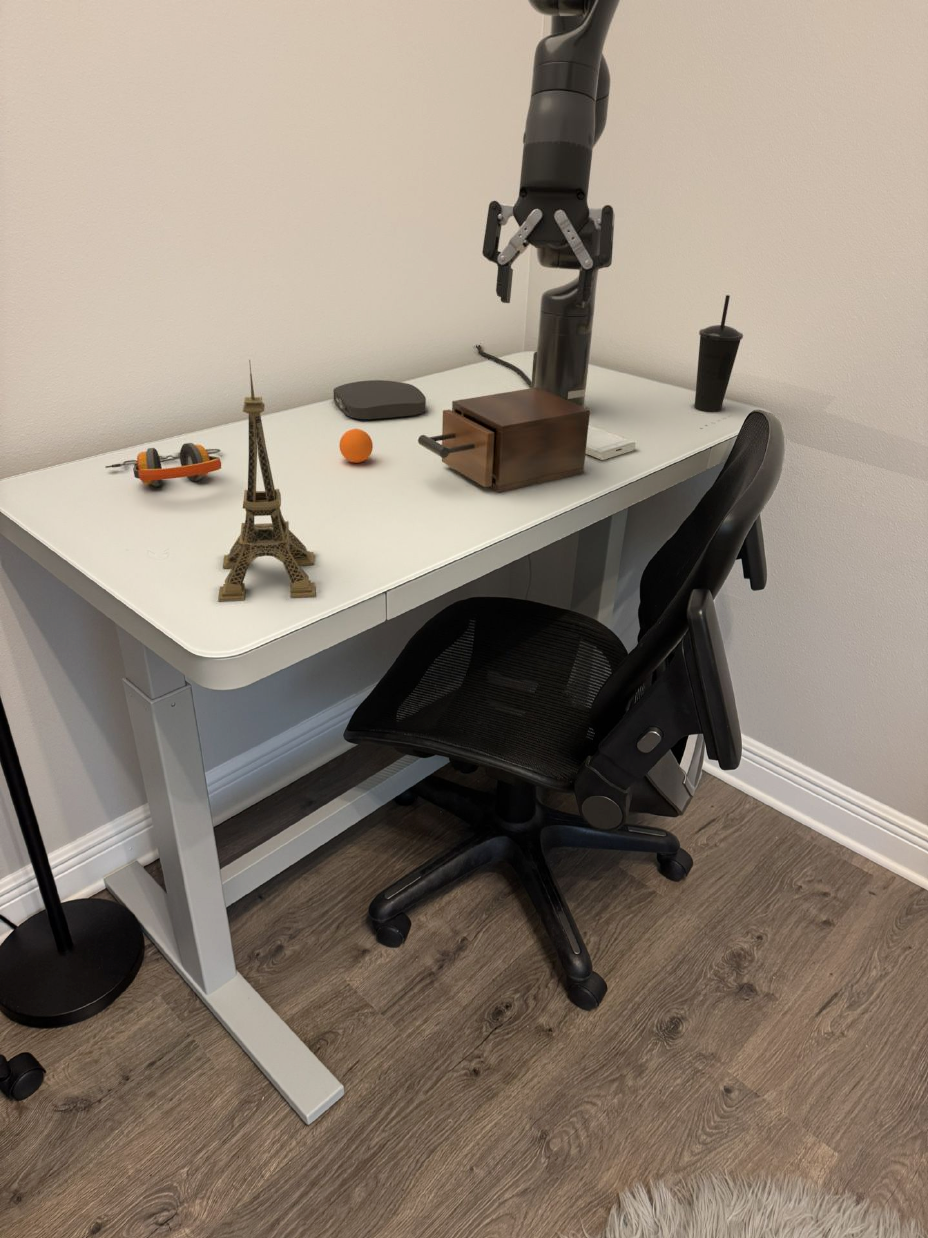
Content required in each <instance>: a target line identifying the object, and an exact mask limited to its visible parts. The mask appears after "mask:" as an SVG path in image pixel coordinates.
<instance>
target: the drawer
mask: <svg viewBox="0 0 928 1238" xmlns="http://www.w3.org/2000/svg"><path fill="white" fill-rule="evenodd" d="M441 427H442V429H441V434H440V435H439V434H438V435H434V436H427V435H425V434H421V435H420V436H418V439H417V443H418V444H419V445H420V446H422V447H423V448H424V449H427V450H428V451H429V452H431V453H434V454H435V455H436V456H438V457H440V458H441V462H442V463H444V464H445V465H446V466H448V467H450V468H452V469H453V470H455V471H457V472H458V473H460V474H462V475H464V476H465V477H467V478H468V479H470V480H472V481H473V482H476V484H478V485H479V486H482V487H483V488H490V487H489V486H492V477H493V478H494V479H496V466H497V449H498V430H496V429H494V428H493V427H491V426H489V425H487V424H485V423H483V422H481V421H479V420H477V419H475V418H473V417H471V416H469V415H467V414H465V413H463V412H461V415H459V414H457V413H455V412H453V411H452V409H444V410H442V426H441ZM440 441H441V443H439V442H440Z"/></svg>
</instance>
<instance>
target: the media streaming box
mask: <svg viewBox="0 0 928 1238" xmlns="http://www.w3.org/2000/svg"><path fill="white" fill-rule="evenodd" d="M426 401H427V398H426V396H425V394H424V393H423V392H422V391H421V389H419V388H418V387H417V386H415V385H413V384H410V383H407V382H400V381H394V380H384V379H383V380H381V379H375V380H374V379H373V380H372V379H371V380H370V379H369V380H361V381H360V380H359V381H353V382H348V383H344V384H341V385H338V386H336V387H333V403H335V405H336V406H337V407H338V408H339V409H340V410H341V412H343V413H344V414H345V415H346V416H347V417H350V418H353V419H357V420H375V419H376V420H377V419H388V418H399V417H407V416H416V415H420V414H423V413H425V411H426V410H427V408H426V407H427V405H426V404H427V403H426Z"/></svg>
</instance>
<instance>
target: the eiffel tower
mask: <svg viewBox="0 0 928 1238" xmlns="http://www.w3.org/2000/svg"><path fill="white" fill-rule="evenodd" d="M248 361H249V362H248V363H249V372H250V373H249V377H250V379H249V381H250V396H245V397H244V399H243V400H244V401H243V407H242V412H243V413H246V414H248V463H247V465H248V466H247V467H248V468H247V489H244V493H243V499H242V500H243V501H242V509H244V511H245V520H244V522H241V528H240V534H239V536H238V537H237V538H236V540H235V542H234V543H233V545H232V546H231V549H230V550H229V553H228V554H224V555H223V562H222V569H231V570H230V571H229V573H228V575H226V578H225V579H224V583H223V584H222V586H219V590H218V597H217V601H218V602H230V601H231V602H233V601H244V600H245V593H246V584H245V582H244V581H245V578H246V574H247V571H248V569H249V566H250V564H251V563H252V562H253V561H255V560H256V559H257V558H261V557H273V558H275V559H276V560H278V561H280V562H281V563H282V564H283V567H284V569H285V572H286V574H287V577H288V579H289V582H290V583H289V592H290V593H289V594H290V595H289V597H290V599H292V598H294V599H295V598H311V597H313V598H315V597H316V582H314V581H312V580H311V579H310V576H309V575H308V574H307V573H306V572H305V571H304V569H303V568H302V567H301V566H310V565H312V566H313V565H315V556H314V555H315V554H314V551H311V550H308V548H307V547H306V545H305V544H304V543H303V542H302V541H301V540H300V539H299V538H298V537H297V536H296V535H295V534H294V533H293V532H292V531H291V530H290V525H289V520H287V521H285V518H284V516H283V514H282V510H281V506H282V496H281V495H282V494H281V491H280V488H275V484H274V479H273V473H272V468H271V464H270V459H269V454H268V449H267V445H266V439H265V433H264V427H263V420H262V414H261V413H264V412H265V409H266V407H265V403H264V402H263V397H262V396H255V390H254V382H253V374H252V368H251V367H252V366H251V359H248ZM258 462H259V467H260V472H261V477H262V482H263V483H262V484H263V488H264V490H260V491H259V490H257V470H258V469H257V468H258ZM264 516H265V517H266V516H267V517H268V516H270V520H271V522H270V523H255V517H264Z"/></svg>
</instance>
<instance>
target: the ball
mask: <svg viewBox="0 0 928 1238" xmlns="http://www.w3.org/2000/svg"><path fill="white" fill-rule="evenodd" d="M373 448H374V444H373V440H372V438H371V435H369V434H368V433H367V432H366V431H365V430H362V429H360V428H352V429H348V430H347V431H345V432H344V433H343V434H342V435H341V437H340V440H339V452H340V453H341V455H342V457H343V458H344V459H345V460H346V461H348V462H351V463H355V464H356V463H357V464H358V463H362V462H365V461H366V460H367V459H369V457H370V456H371V455H372V452H373Z"/></svg>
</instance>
